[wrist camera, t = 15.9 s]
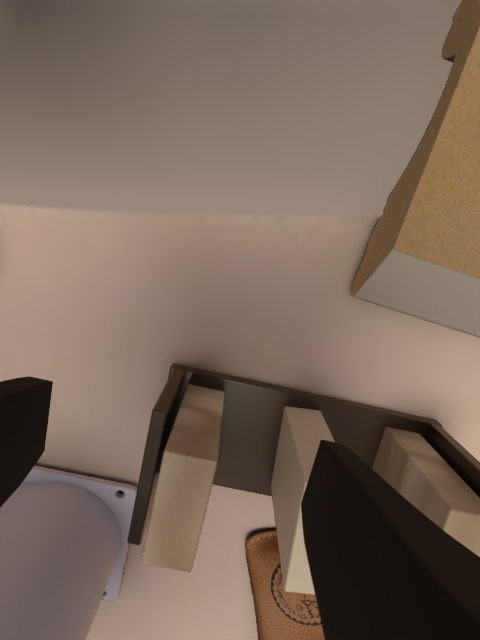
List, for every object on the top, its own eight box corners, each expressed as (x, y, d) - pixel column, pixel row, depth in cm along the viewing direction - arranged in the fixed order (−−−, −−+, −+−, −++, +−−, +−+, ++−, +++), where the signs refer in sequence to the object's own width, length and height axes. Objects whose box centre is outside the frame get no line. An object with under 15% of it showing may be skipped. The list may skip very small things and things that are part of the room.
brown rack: (151, 465, 21) (109, 573, 14) (172, 363, 20) (137, 427, 13) (402, 516, 22) (475, 641, 15) (437, 420, 21) (536, 510, 14)
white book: (270, 486, 21) (283, 592, 15) (284, 405, 20) (304, 481, 14) (305, 490, 21) (333, 598, 15) (320, 409, 20) (358, 488, 14)
